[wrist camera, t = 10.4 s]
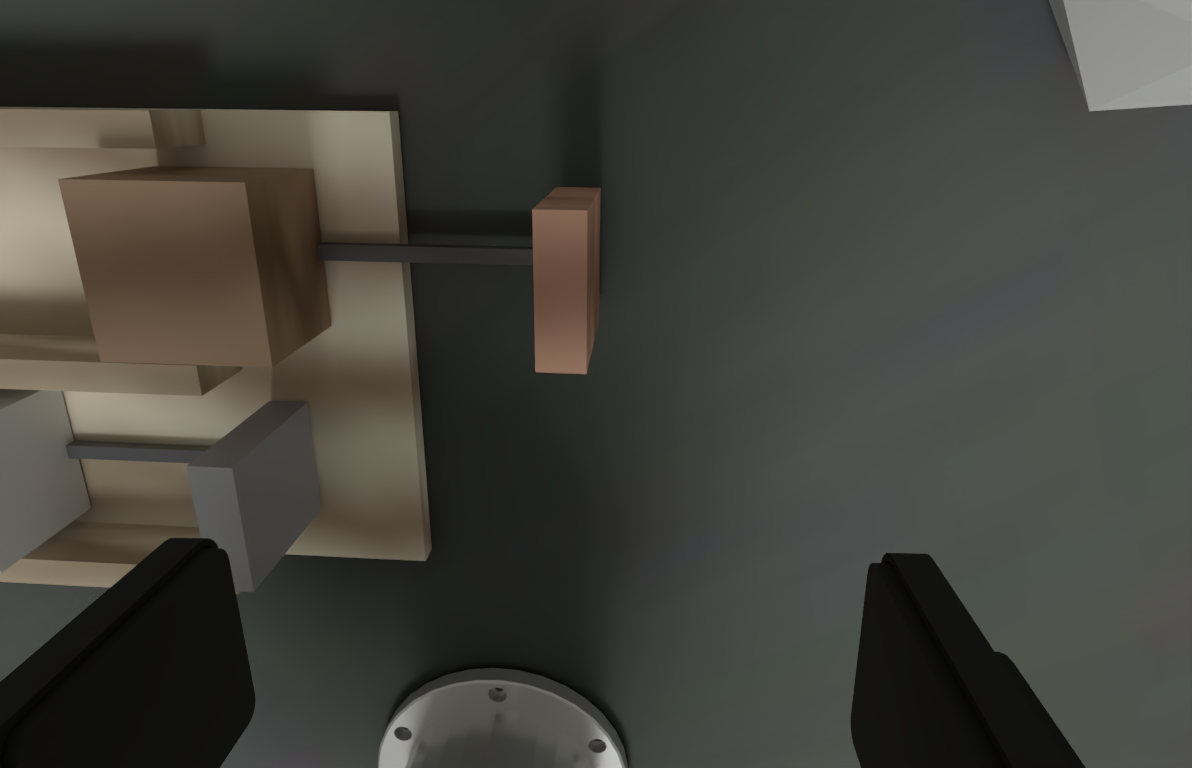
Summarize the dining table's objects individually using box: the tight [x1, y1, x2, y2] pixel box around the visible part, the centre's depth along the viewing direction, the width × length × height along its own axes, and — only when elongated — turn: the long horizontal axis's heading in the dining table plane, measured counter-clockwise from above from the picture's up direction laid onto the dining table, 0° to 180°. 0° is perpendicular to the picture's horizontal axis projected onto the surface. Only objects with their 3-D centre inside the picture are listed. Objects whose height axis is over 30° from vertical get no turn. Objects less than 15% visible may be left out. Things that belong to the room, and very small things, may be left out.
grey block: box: [0, 389, 322, 592], centre depth 30 cm, size 6×17×6 cm, turn 90°
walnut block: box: [58, 166, 601, 374], centre depth 26 cm, size 6×17×6 cm, turn 90°
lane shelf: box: [0, 107, 432, 594], centre depth 30 cm, size 19×23×4 cm
